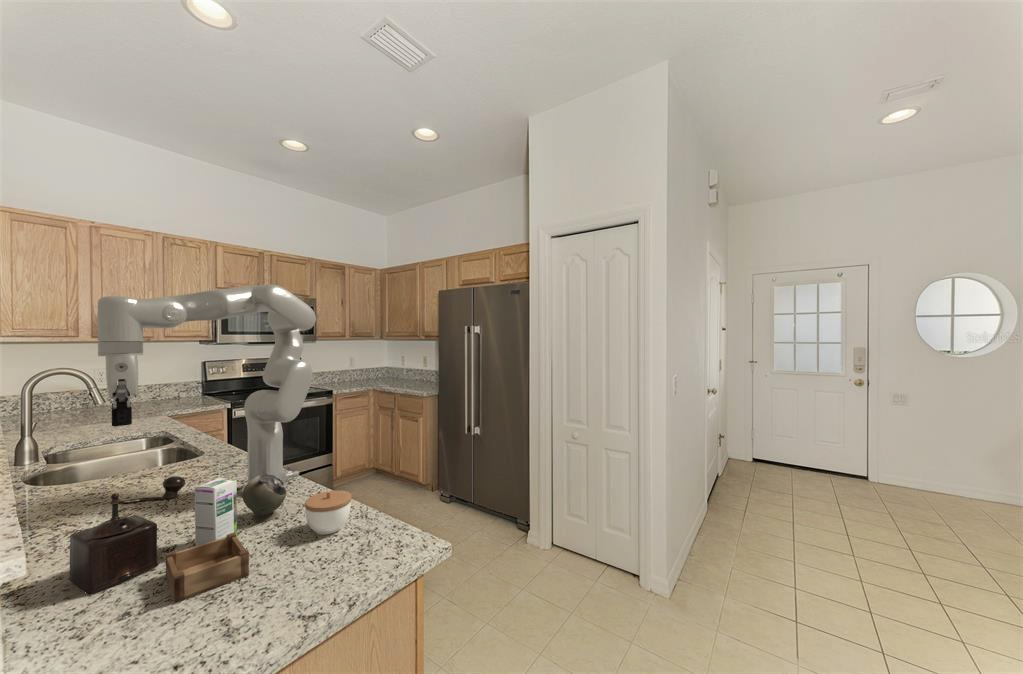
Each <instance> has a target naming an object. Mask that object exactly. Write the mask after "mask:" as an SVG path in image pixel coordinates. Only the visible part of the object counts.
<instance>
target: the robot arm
mask: <svg viewBox="0 0 1023 674" xmlns="http://www.w3.org/2000/svg"><path fill="white" fill-rule="evenodd" d="M259 313H267V323H268V324H269V327H270V329H271V330H272V333H273V335H274V339H275V341H274V342H275V343H274V345H273V348H272V352H271V353H270V356H269V358H268V359H267V360H268V361H267V362H266V365H265V367H264V369H263V373H262V381H263V382H264V383H265V385H267V386H269V387H272V388H278V390H271V389H261V390H257V391H255V392H253V393H250V395H249V396H248V397H246V399H245V402H244V409H243V410H244V415H245V416H244V417H245V420H246V425H247V483H248V482H249V481H251V480H252V479H254V478H256V477H257V476H260V475H262V474H263V472H262V470H263V471H265V472H266V474H267V475H273V476H276V478H278V479H280V480H282V481H283V483H284V488H285V489H286V488H287V487H288V486H289V481H288V480H290V479H293V478H298V477H299V476H300V472H299V470H294V471H293V470H288V471H284V470H283V467H284V466H283V464H284V463H283V462H284V458H283V457H284V456H283V455H284V452H283V450H284V448H283V447H284V444H283V442H284V432H283V426H282V423H290V422H292V421H293V420H294V419H296V418H297V416H298V415H299V414H300V412H301V410H302V408H303V406H304V403H305V400H306V398H307V396H308V392H309V390H310V387H311V384H312V381H313V374H314V373H313V369H312V366H311V365H310V363H309V362H307V361H306V360H303V359H301V356H302V354H303V350H304V342H303V337H302V335H301V333H300V332H304V331H305V332H306V331H309V330H310V329H312V328H313V327H314V326H315V324H316V321H317V317H316V316H317V315H316V313H315V312H314V309H313V308H311V306H310V305H308V304H307V303H306V302H304V301H303V300H301V299H300V298H299V297H297V296H296V295H295V294H293V293H292V292H290V291H289V290H287V289H286V288H285V287H282V286H280V285H277V284H273V283H272V284H260V285H259V284H257V285H256V284H255V285H247V286H238V287H230V288H228V287H227V288H222V289H221V288H220V289H211V290H205V291H199V292H194V293H186V294H180V295H179V294H178V295H171V296H162V297H161V296H160V297H155V298H154V297H153V298H152V297H151V298H138V297H131V296H121V295H119V296H118V295H116V296H115V295H111V296H110V295H109V296H102V297H100V298H99V299H98V301H97V357H105V380H106V381H105V382H106V388H107V394H108V398H109V399H110V400H112V403H111V404H112V405H111V426H112V427H122V426H124V427H125V426H131V425H132V423H133V414H132V413H133V412H132V411H133V408H132V402H131V397H132V396H134V398H137V397H139V362H138V361H139V360H138V356H144V329H171V328H176V327H178V326H180V325H182V324H183V323H187V322H195V321H196V322H199V321H201V322H202V321H218V320H225V319H231V318H236V317H241V316H242V317H243V316H247V315H253V314H259ZM245 486H246V485H244V486H243V487H242V488H241V495H242V494H243V490H244V487H245Z"/></svg>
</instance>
